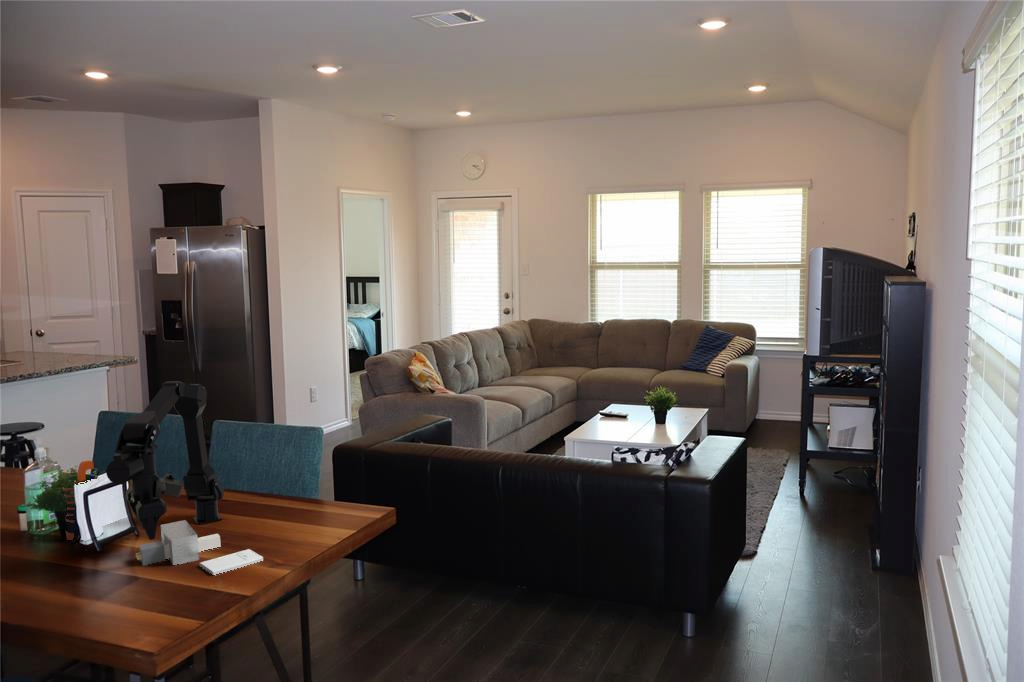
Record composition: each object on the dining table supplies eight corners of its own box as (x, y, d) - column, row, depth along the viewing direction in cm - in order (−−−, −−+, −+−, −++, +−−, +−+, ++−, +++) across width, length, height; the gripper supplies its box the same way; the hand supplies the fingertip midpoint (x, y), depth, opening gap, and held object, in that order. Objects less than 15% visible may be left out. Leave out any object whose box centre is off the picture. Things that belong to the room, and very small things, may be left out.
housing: (162, 549, 206) (160, 525, 205) (187, 544, 209) (185, 520, 208) (173, 565, 195) (171, 539, 194) (199, 559, 199) (197, 534, 198)
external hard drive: (199, 568, 195) (248, 554, 203) (213, 578, 189) (263, 563, 197) (199, 562, 194) (248, 547, 203) (212, 571, 188) (263, 556, 197)
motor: (57, 538, 216) (50, 465, 214) (88, 527, 224) (81, 457, 222) (81, 543, 212) (74, 469, 209) (112, 532, 219) (105, 460, 217)
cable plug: (217, 543, 209) (216, 529, 209) (221, 548, 206) (220, 533, 205) (135, 561, 198) (134, 546, 198) (138, 567, 195) (137, 551, 195)
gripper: (186, 474, 192) (191, 537, 194) (170, 458, 208) (175, 516, 210) (136, 483, 186) (141, 548, 188) (123, 465, 202) (128, 526, 204)
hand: (148, 533), depth 198 cm, fingers open, 9 cm apart
